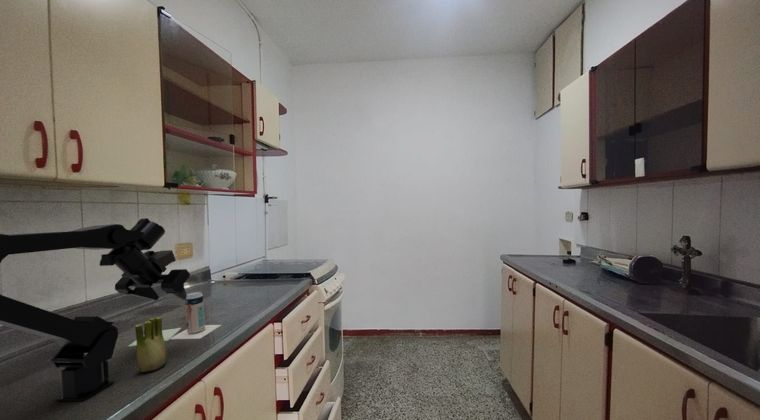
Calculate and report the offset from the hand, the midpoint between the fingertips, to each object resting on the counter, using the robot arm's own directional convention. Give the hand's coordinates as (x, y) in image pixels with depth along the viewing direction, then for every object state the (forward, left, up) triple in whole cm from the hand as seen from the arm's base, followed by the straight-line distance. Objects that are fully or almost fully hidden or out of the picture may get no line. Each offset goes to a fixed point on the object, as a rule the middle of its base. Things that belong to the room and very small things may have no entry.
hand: (171, 298), depth 85 cm
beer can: (+8, -1, -13) cm, 15 cm away
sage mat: (+5, +10, -13) cm, 17 cm away
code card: (+8, -1, -13) cm, 15 cm away
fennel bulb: (-13, -6, -13) cm, 20 cm away
